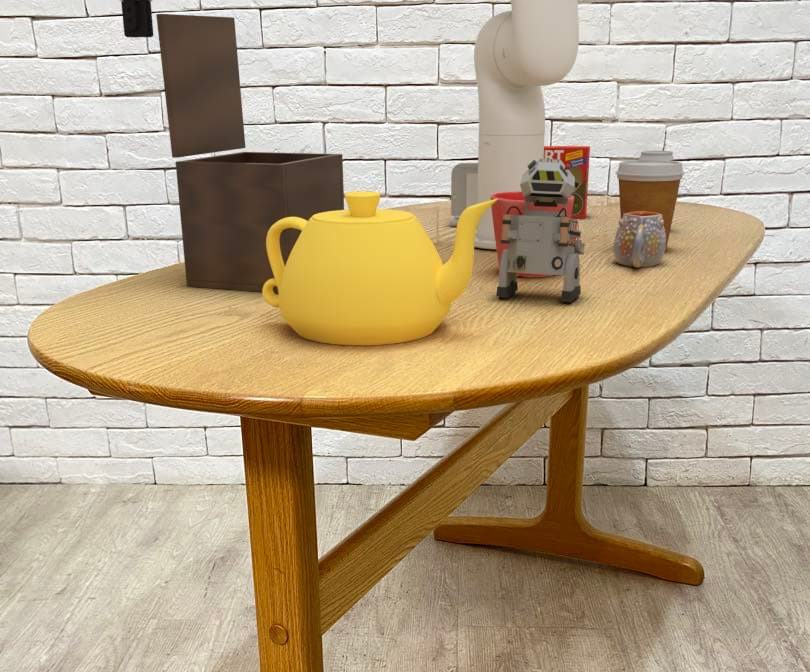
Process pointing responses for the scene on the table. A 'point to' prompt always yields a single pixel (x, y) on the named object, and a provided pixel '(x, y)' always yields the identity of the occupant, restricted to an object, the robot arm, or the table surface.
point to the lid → (201, 83)
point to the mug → (640, 239)
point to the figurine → (542, 232)
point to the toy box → (574, 173)
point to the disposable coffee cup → (650, 188)
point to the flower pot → (516, 200)
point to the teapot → (367, 273)
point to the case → (249, 211)
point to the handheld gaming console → (463, 189)
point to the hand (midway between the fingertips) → (139, 36)
